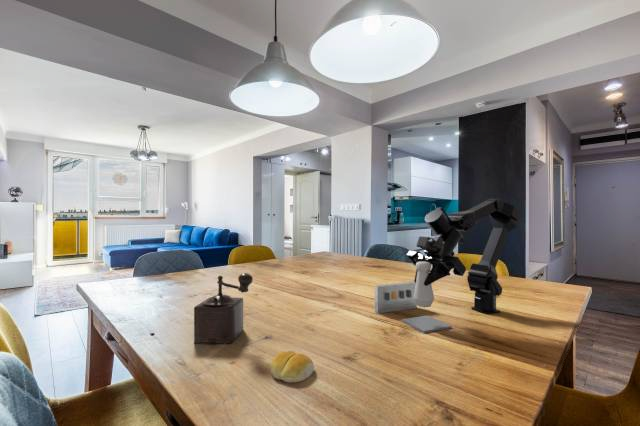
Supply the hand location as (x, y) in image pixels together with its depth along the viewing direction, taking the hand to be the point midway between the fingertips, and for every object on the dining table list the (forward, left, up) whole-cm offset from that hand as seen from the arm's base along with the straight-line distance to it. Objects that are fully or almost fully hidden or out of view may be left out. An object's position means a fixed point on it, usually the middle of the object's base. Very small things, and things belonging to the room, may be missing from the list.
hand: (420, 283), depth 90 cm
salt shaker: (-1, 0, -7) cm, 7 cm away
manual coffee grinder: (+54, -13, -13) cm, 57 cm away
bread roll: (+43, +11, -13) cm, 46 cm away
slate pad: (-2, 0, -12) cm, 13 cm away
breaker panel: (-2, -15, -12) cm, 20 cm away
